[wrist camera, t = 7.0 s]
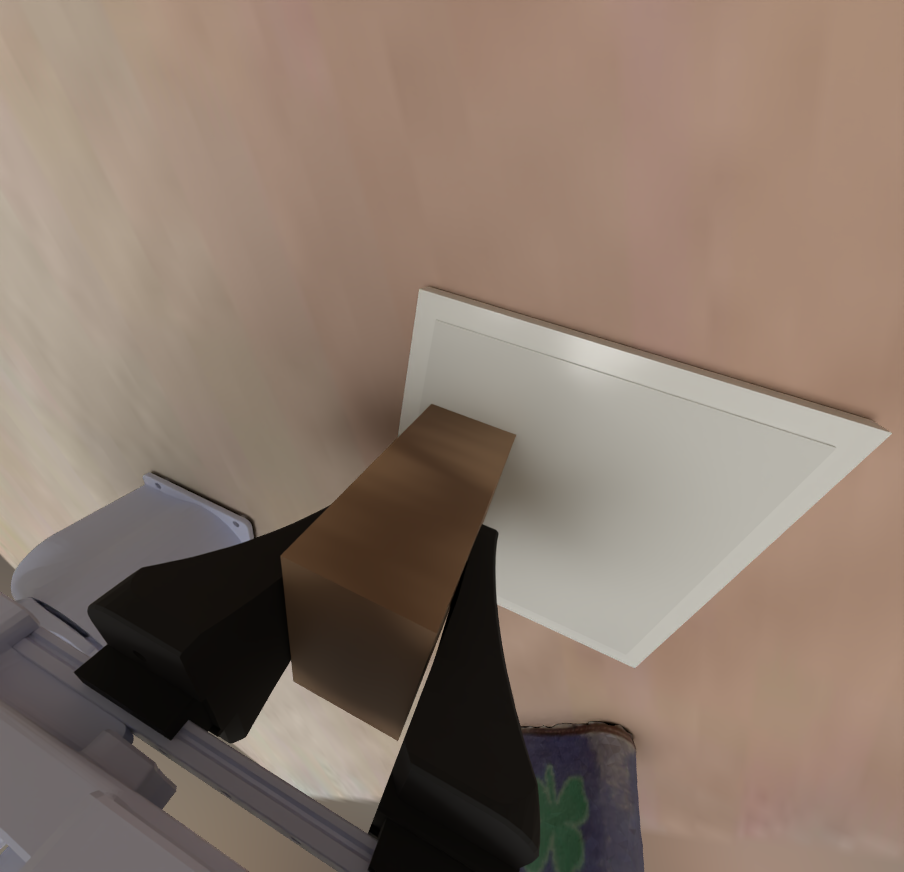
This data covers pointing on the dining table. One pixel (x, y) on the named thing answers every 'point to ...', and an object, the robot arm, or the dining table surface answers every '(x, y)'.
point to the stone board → (622, 468)
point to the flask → (586, 798)
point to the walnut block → (390, 566)
